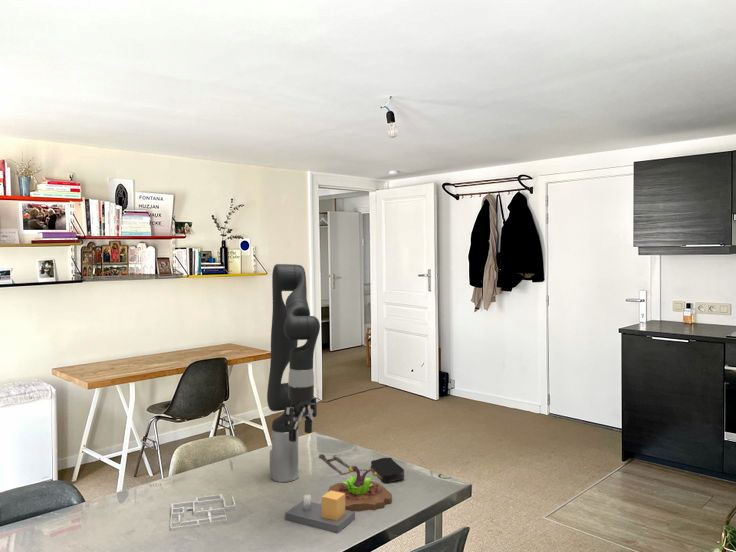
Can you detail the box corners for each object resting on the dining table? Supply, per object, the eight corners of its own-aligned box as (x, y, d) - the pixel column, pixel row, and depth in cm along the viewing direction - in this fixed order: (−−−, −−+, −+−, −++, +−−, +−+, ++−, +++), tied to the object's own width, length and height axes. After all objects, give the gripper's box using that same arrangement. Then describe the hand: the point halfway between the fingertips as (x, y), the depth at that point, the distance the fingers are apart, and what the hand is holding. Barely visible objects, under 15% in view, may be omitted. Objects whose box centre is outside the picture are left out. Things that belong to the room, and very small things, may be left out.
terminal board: (285, 519, 166) (285, 499, 166) (303, 506, 175) (303, 487, 175) (338, 533, 158) (338, 511, 158) (354, 518, 167) (355, 498, 167)
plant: (318, 492, 187) (318, 458, 186) (372, 483, 194) (373, 451, 194) (340, 517, 168) (340, 480, 168) (398, 506, 176) (399, 471, 176)
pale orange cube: (321, 517, 164) (321, 496, 163) (330, 510, 168) (330, 490, 168) (336, 520, 161) (336, 499, 161) (345, 513, 166) (345, 493, 166)
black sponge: (406, 482, 196) (406, 471, 196) (383, 485, 193) (383, 474, 193) (390, 466, 211) (390, 456, 211) (368, 468, 209) (368, 458, 208)
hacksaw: (317, 457, 220) (317, 453, 220) (341, 453, 225) (341, 449, 225) (344, 478, 199) (344, 474, 199) (370, 473, 204) (370, 469, 203)
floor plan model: (230, 490, 189) (230, 484, 189) (238, 522, 165) (237, 515, 165) (171, 497, 183) (171, 491, 183) (170, 532, 159) (170, 525, 159)
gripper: (303, 376, 175) (302, 428, 176) (276, 386, 162) (276, 442, 163) (324, 379, 172) (323, 432, 173) (298, 389, 159) (298, 446, 160)
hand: (300, 436), depth 168 cm, fingers open, 8 cm apart
